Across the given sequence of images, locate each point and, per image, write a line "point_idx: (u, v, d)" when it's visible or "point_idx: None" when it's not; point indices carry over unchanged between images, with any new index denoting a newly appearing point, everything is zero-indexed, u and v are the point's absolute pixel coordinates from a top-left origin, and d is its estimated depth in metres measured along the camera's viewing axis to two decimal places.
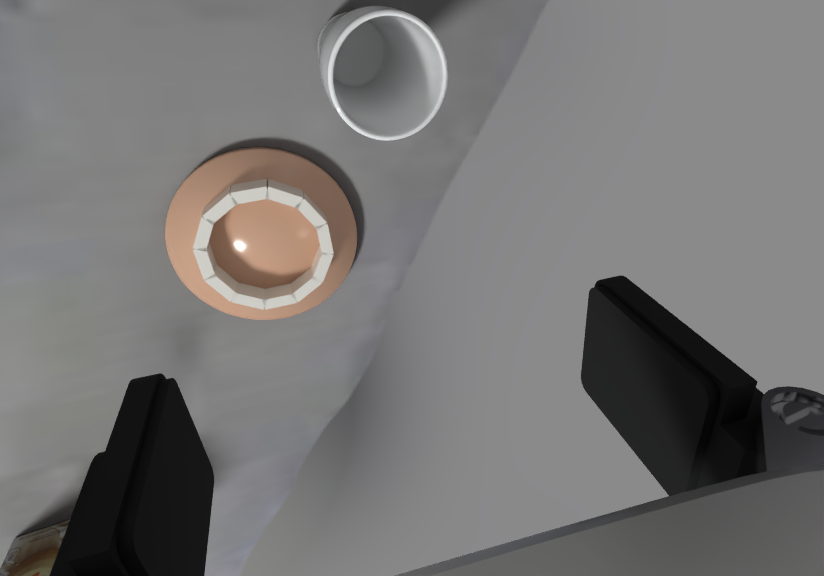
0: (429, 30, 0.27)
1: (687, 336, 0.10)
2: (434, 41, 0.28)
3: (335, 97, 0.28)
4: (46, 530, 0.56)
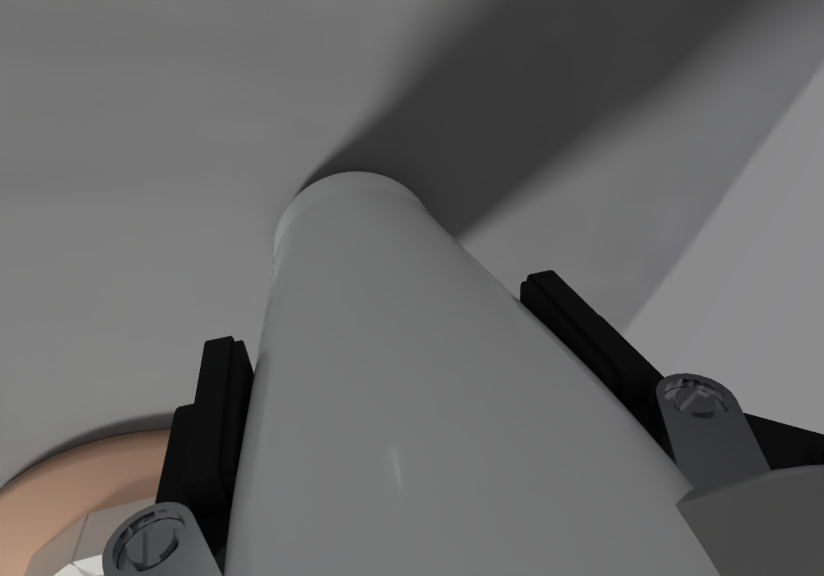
0: None
1: (598, 326, 0.10)
2: None
3: None
4: None
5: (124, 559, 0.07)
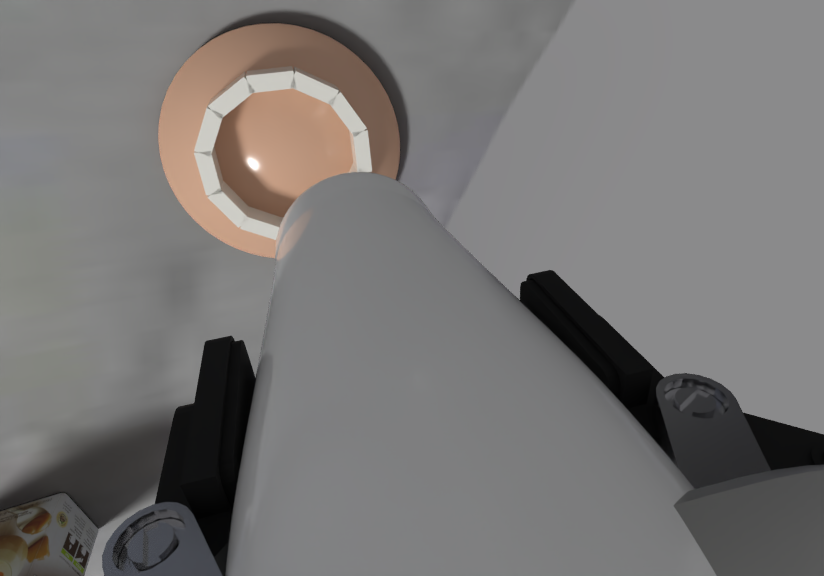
0: None
1: (598, 327, 0.10)
2: None
3: None
4: (1, 514, 0.46)
5: (124, 559, 0.07)
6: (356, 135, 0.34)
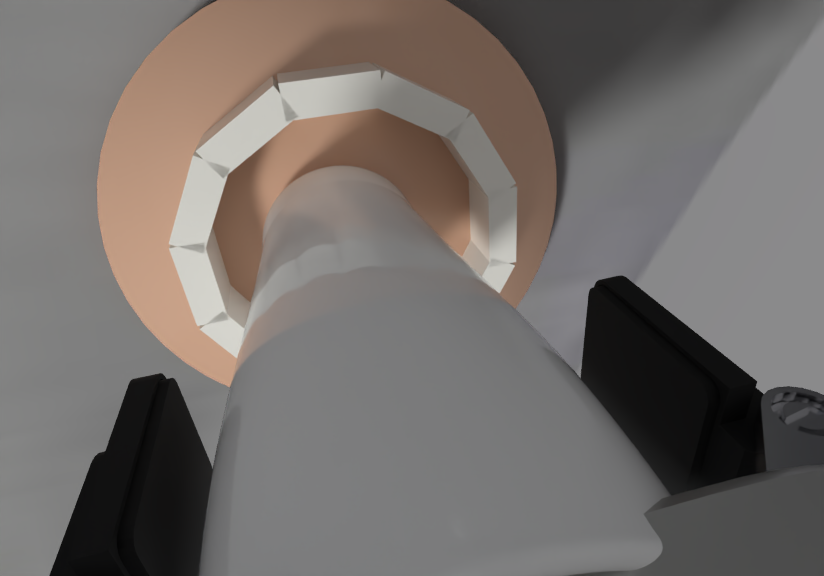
0: None
1: (687, 336, 0.10)
2: None
3: None
4: None
5: None
6: (494, 197, 0.17)
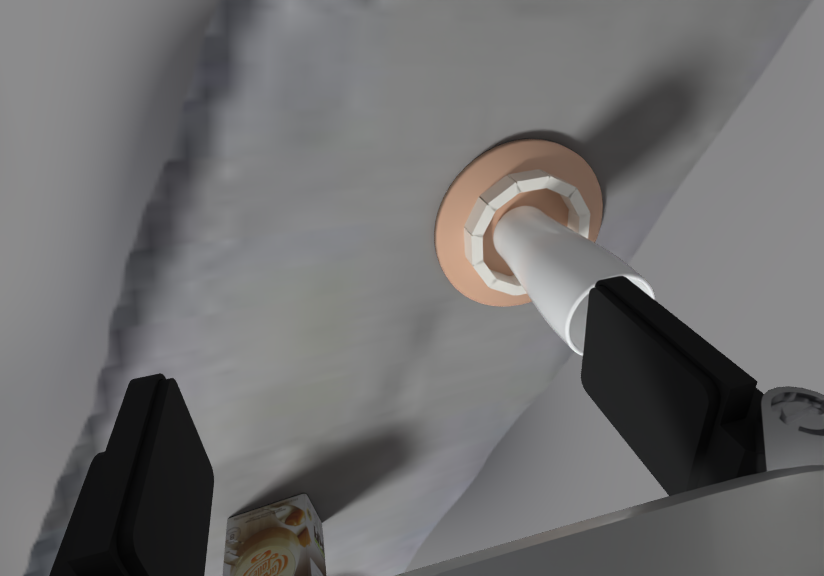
0: (647, 283, 0.34)
1: (687, 336, 0.10)
2: (649, 289, 0.34)
3: (569, 335, 0.35)
4: (259, 511, 0.57)
5: None
6: (581, 217, 0.46)
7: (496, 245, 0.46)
